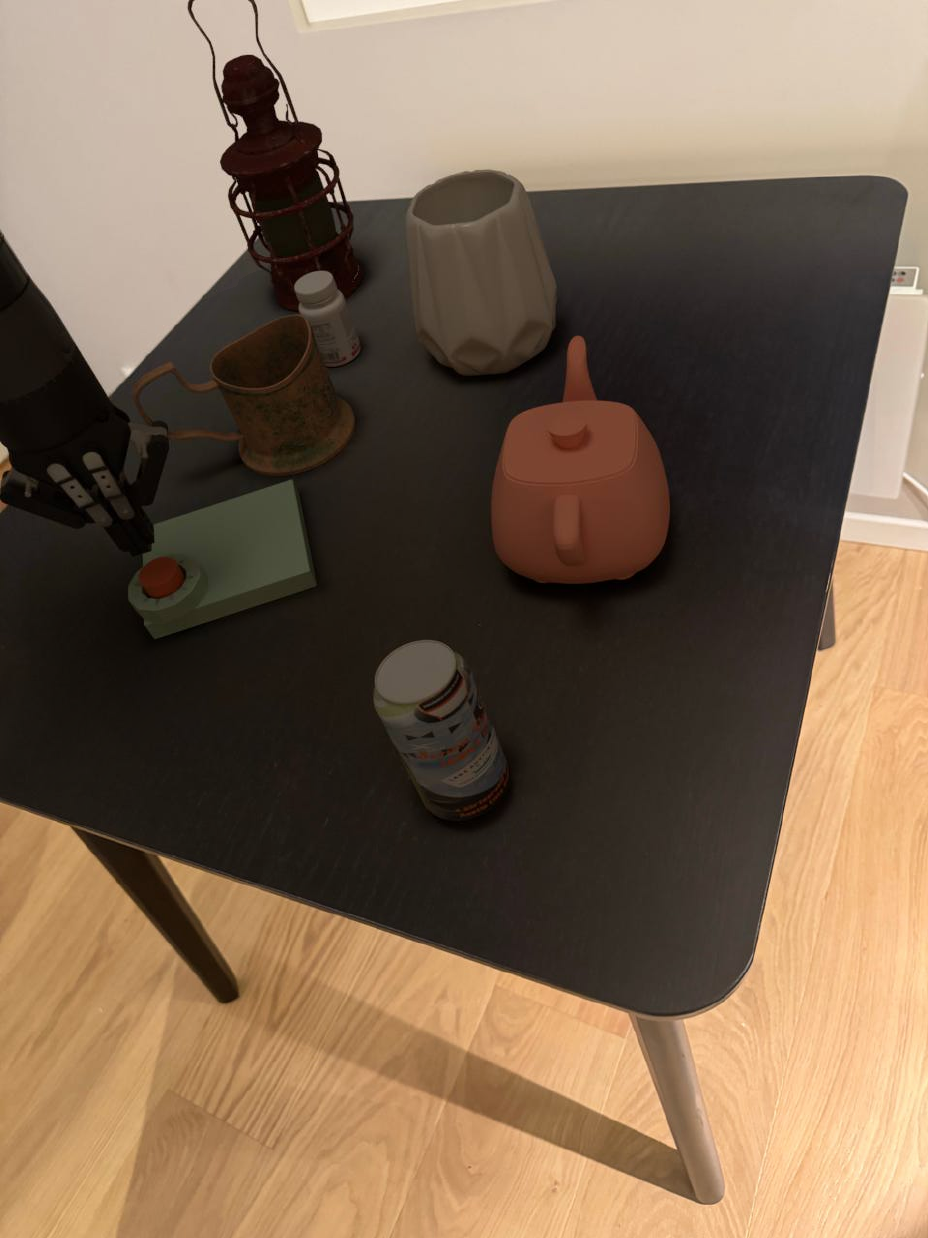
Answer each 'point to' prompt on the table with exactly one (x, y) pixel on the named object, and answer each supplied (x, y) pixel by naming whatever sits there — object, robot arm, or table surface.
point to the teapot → (579, 488)
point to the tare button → (161, 577)
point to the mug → (273, 399)
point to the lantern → (282, 181)
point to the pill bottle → (328, 317)
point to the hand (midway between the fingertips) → (142, 546)
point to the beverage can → (441, 729)
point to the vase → (479, 273)
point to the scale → (229, 559)
